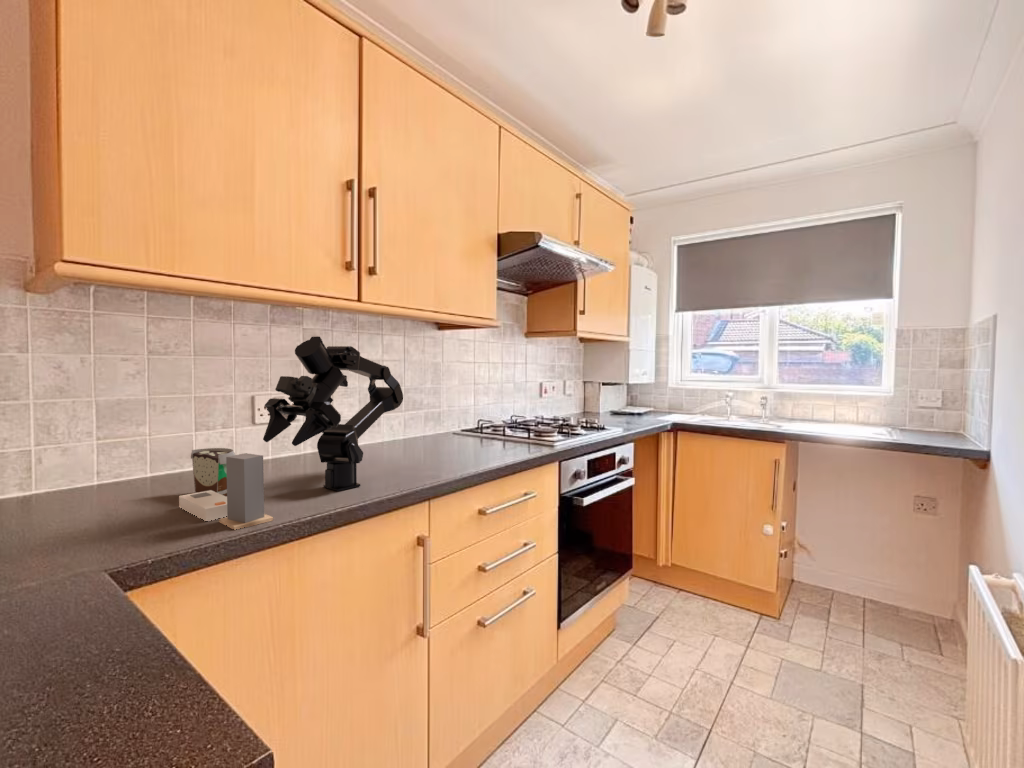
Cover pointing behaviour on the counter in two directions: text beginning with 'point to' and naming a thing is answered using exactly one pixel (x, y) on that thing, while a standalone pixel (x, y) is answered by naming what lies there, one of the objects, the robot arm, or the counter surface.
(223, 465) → the food container
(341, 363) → the robot arm
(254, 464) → the brick
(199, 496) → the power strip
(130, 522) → the counter surface
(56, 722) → the counter surface
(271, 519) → the cork mat
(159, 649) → the counter surface
